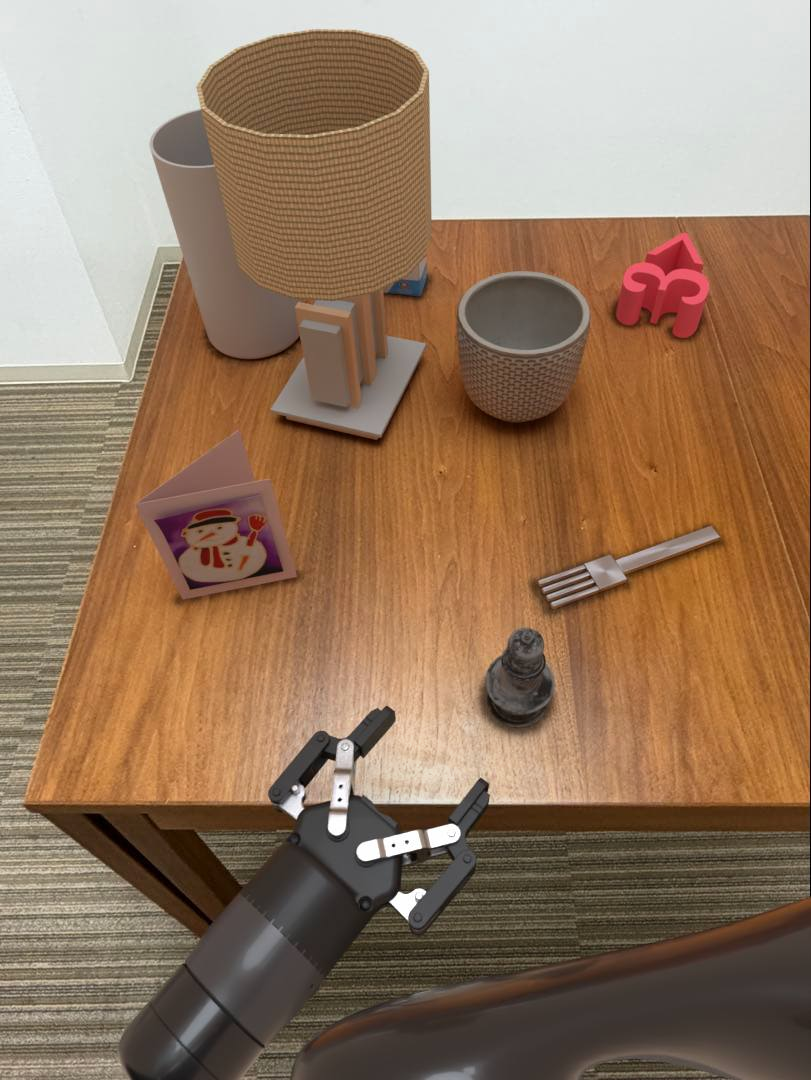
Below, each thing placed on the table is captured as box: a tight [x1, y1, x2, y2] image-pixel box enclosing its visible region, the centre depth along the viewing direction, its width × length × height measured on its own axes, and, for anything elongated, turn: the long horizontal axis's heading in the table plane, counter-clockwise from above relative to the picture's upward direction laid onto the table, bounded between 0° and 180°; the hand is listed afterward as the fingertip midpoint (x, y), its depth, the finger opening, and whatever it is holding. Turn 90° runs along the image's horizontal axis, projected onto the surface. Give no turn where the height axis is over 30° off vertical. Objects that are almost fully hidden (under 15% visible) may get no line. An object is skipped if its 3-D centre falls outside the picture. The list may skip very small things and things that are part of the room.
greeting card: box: [134, 428, 298, 600], centre depth 75 cm, size 11×7×15 cm, turn 102°
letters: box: [615, 232, 710, 339], centre depth 101 cm, size 14×10×5 cm
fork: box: [536, 525, 721, 610], centre depth 79 cm, size 19×3×1 cm, turn 111°
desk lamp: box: [195, 28, 433, 441], centre depth 81 cm, size 20×20×35 cm
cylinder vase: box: [149, 108, 303, 360], centre depth 93 cm, size 12×12×25 cm
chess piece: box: [484, 627, 556, 728], centre depth 66 cm, size 6×6×12 cm
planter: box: [456, 270, 592, 424], centre depth 88 cm, size 14×14×13 cm
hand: (436, 746), depth 57 cm, fingers open, 8 cm apart
